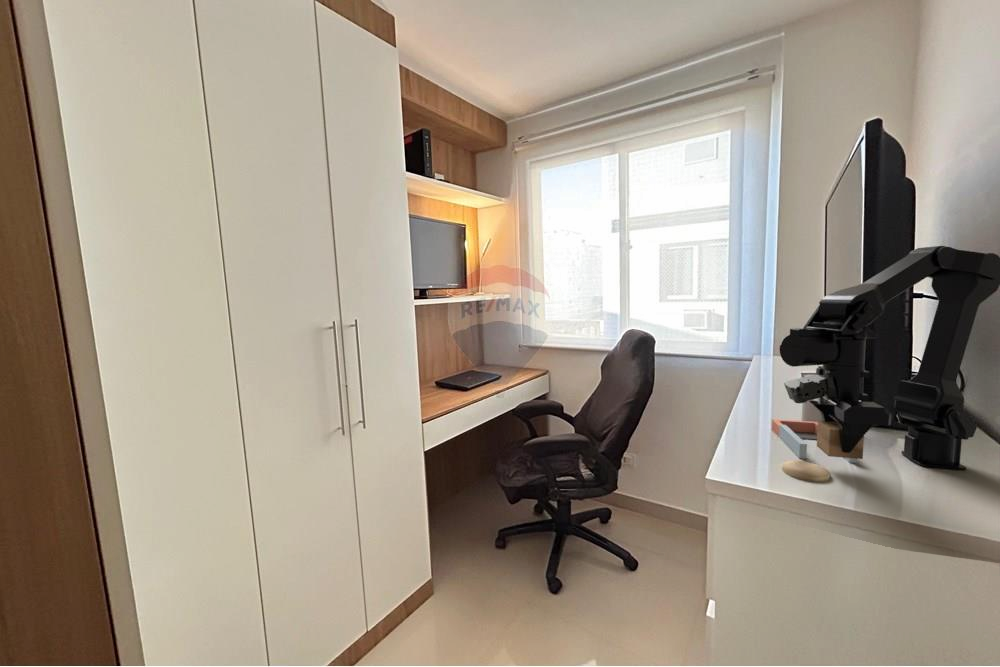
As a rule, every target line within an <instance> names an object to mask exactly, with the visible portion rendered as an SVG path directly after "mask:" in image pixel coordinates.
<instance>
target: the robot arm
mask: <svg viewBox="0 0 1000 667" xmlns="http://www.w3.org/2000/svg"><path fill="white" fill-rule="evenodd" d="M927 278H929V279H931V285H930V286H931V289H932V290H933V293H934V294H935V296H936V298H937V300H938V303H937V306H936V309H935V313H934V316H933V320H932V323H931V327H930V331H929V333H928V338H927V341H926V344H925V347H924V351H923V354H922V358H921V360H920V365H919V369H918V371H917V374H916V375H914V376H913V377H912V378H910V379H909V380H900V381H899V383H898V385H897V390H896V394H895V396H893V399H892V400H893V401H894V409H895V411H896V414H897V417H898V422H899V424H900V425H902V426H904V425H905V426H908V430H907V431H908V432H907V433H906V434H905V435H904V444H903V446H904V447H903V450H901V452H900V454H902V455H903V456H905V457H907V458H908V459H909V460H911V461H913V462H914V463H916V464H918V465H919V466H920V467H928V468H938V469H939V468H940V469H951V470H963V471H966V470H967V468H968V467H967V466H966V465H963V464H962V463H961V454H962V444H963V440H965V441H966V440H969V438H973V437H974V436H975V433H976V431H977V428H978V427H977V424H976V423H975V422H974V421H973V420H972V419H971V418H970V417H969V416H968V415H967V413H966V412H965V411H964V404H965V397H964V395H963V392H962V391H961V388H960V387H959V386H958V383H957V378H958V375H959V373H960V370H961V365H962V363H963V359H964V356H965V352H966V350H967V346H968V342H969V339H970V337H971V336H970V335H971V332H972V329H973V325H974V322H975V319H976V315H977V312H978V310H979V307H980V305H981V303H983V302H984V301H985V300H986V301H987V299H988V298H990V297H991V296H993V294H995V293H996V292H997V291H998V289H999V287H1000V255H998V254H996V253H993V252H987V253H986V252H985V253H984V252H979V251H977V252H976V251H970V250H964V249H963V250H962V249H957V248H953V247H950V246H946V245H937V246H926V247H918V248H915V249H913V250H910V252H909V253H908V254H907V255H906V256H904V257H903V258H901V259H900V260H897V261H896V262H894V263H893V264H892V265H890V266H888V267H887V268H885V269H883V270H882V271H880V272H879V273H877V274H875V275H873V276H872V277H871V278H869V279H868V280H866V281H864V282H862V283H860V284H857V285H854V286H850V287H847V288H842V289H839V290H836V291H835V292H832V293H829V294H827V295H825V296H824V297H823V298H821V299H820V301H819V305H818V306H817V308H816V309H815V311H814V312H813V313H812V314H811V315H810V316H811V317H810V318H809V319H808V320H807V321H806V323H805V324H804V325H803V328H799V327H791V328H790V329H789V335H787V336H785V337H784V338H783V340H782V341H781V344H780V345H779V354H780V357H781V360H782V361H783V362H784V363H785V364H786V365H788V366H790V367H808V366H809V367H810V366H818V367H816V369H815V374H811V375H812V376H806V377H804V376H802V377H799V378H795V379H792V380H787V381H785V382H784V383H783V384H784V387H785V390H786V392H787V395H788V397H789V399H790V400H792V401H793V402H794V403H795V404H802V403H805V402H807V401H808V400H812V399H814V401H809V402H810V403H811V404H812V405H813V406H814V407H816V408H817V409H818V410H819V411H820V414H821V417H822V420H823V421H828V422H837V423H838V426H839V435H840V443H841V449H842V452H844V453H850V452H851V451H852V450H853V448H854V447H855V446H856V445H857V443H858V442H859V441H860V440H861V438H862V437H863V436H864V437H865V435H866V434H867V433H868V432H869V431H870V430H871V428H873V427H874V426H891V424H892V412H891V411H889V410H888V409H887V408H886V407H884V406H882V405H880V404H878V403H876V402H874V401H869V395H868V394H867V393H864V379H869V378H870V375H871V372H870V371H868V370H865V363H866V362H865V360H866V345H867V344H866V343H867V342H866V341H867V339H877V337H878V334H877V333H876V332H874V331H873V330H871V329H870V328H869V325H871V324H872V323H873V322H874V321H875V320H876V319H877V318H878V317H880V316H881V315H882V314H883V313H884V310H885V308H886V305H887V303H888V302H889V301H891V300H893V299H894V298H896V297H898V296H899V295H900V294H902V293H904V292H905V291H907V290H908V289H910V288H911V287H914V286H915V285H916V284H918V283H920V282H921V281H923V280H925V279H927Z"/></svg>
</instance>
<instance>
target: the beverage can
mask: <svg viewBox="0 0 1000 667" xmlns="http://www.w3.org/2000/svg"><path fill="white" fill-rule="evenodd" d="M812 375H813V374H804V375H803V377H806V376H812ZM809 401H814V399H812V400H808V401H807V402H805V403H801V419H800V421H811V422H818V421H823V420H822V417H821V414H820V411H819V410H818V409H817V408H816V407H814V406H813V405H812V404H811V403H810V402H809Z"/></svg>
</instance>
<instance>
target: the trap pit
mask: <svg viewBox="0 0 1000 667" xmlns="http://www.w3.org/2000/svg"><path fill="white" fill-rule="evenodd" d="M780 425H786V426H788V427H789V428H790V429H791V430H792V431H793V432H794V433H795V434H796V435H797V436H798V437H800V438H801V439H802V440H813V441H817V431H818V422H811V421H802V420H795V419H793V420H791V419H779V418H778V419H775V418H773V419H772V418H771V431H773V432H774V434H775V435H777V437H778V438H779V427H780Z"/></svg>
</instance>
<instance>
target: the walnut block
mask: <svg viewBox="0 0 1000 667" xmlns="http://www.w3.org/2000/svg"><path fill="white" fill-rule="evenodd" d="M864 442H865V435H864V436H863V437H862V438H861V440H860V441H859V442H858V443H857V445H856V446H855V447H854V448H853V450H852V451H851V452H850V453H844V452H842V449H841V443H840V435H839V426H838V423H837V422H828V421H818V431H817V440H816V448H818V449H819V450H821V451H822V453H824V454H825V455H827V457H834V458H843V459H845V458H855V459H857V460H864V459H863V458H864V446H865V445H864V444H865V443H864Z"/></svg>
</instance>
